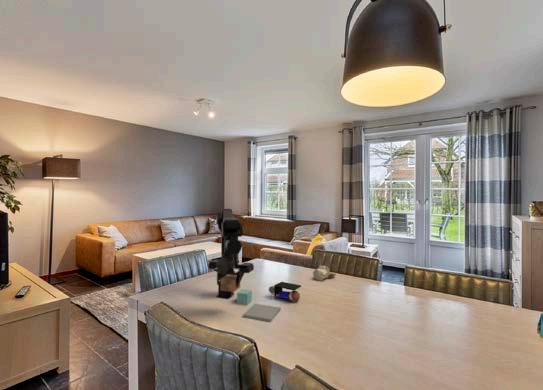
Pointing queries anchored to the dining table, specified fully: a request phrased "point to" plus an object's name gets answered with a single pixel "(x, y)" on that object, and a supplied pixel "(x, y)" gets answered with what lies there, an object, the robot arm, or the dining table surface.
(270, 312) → the base plate
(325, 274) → the ceramic sculpture
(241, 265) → the robot arm
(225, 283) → the walnut block
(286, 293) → the figurine character
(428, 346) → the dining table surface
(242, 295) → the teal block
